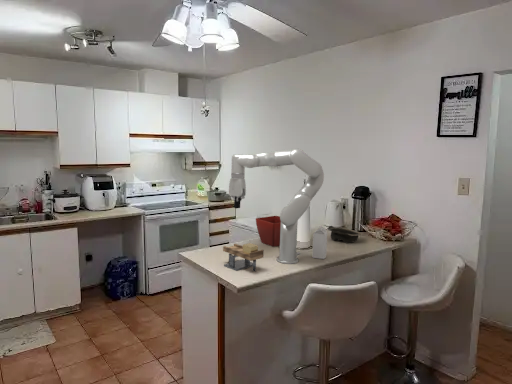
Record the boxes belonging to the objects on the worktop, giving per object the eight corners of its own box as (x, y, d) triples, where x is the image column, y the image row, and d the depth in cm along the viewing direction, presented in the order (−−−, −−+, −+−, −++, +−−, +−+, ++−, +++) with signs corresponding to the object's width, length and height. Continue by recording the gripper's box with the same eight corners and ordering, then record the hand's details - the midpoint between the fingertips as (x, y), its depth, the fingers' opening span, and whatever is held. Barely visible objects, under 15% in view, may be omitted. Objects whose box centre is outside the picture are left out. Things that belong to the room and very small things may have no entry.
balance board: (223, 250, 196) (223, 243, 196) (235, 248, 202) (235, 241, 202) (251, 260, 181) (251, 253, 180) (263, 257, 187) (263, 250, 187)
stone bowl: (320, 239, 255) (321, 226, 254) (337, 236, 274) (338, 224, 274) (352, 246, 239) (354, 232, 238) (368, 242, 258) (369, 229, 258)
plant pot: (272, 249, 228) (273, 223, 226) (254, 242, 243) (254, 218, 241) (294, 244, 240) (295, 220, 238) (275, 238, 255) (276, 215, 253)
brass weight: (242, 254, 187) (243, 244, 186) (249, 252, 190) (249, 243, 190) (250, 256, 183) (251, 247, 182) (257, 255, 186) (257, 245, 185)
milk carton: (312, 257, 212) (313, 226, 210) (314, 254, 218) (316, 224, 216) (324, 259, 209) (325, 227, 207) (326, 256, 216) (327, 225, 214)
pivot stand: (219, 264, 195) (219, 252, 194) (238, 259, 205) (238, 247, 204) (245, 274, 181) (245, 261, 180) (264, 268, 191) (265, 256, 190)
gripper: (224, 175, 206) (223, 206, 208) (242, 177, 196) (241, 210, 198) (234, 175, 212) (233, 205, 214) (251, 176, 201) (250, 209, 203)
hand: (237, 207), depth 206 cm, fingers closed
